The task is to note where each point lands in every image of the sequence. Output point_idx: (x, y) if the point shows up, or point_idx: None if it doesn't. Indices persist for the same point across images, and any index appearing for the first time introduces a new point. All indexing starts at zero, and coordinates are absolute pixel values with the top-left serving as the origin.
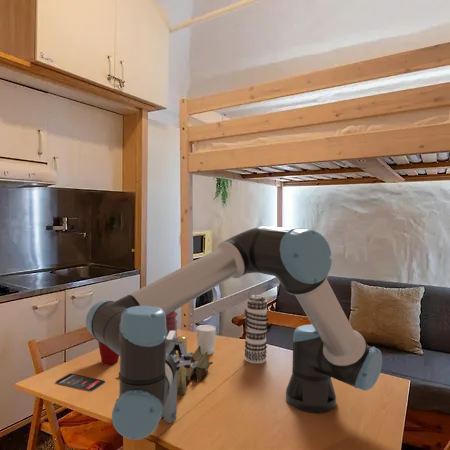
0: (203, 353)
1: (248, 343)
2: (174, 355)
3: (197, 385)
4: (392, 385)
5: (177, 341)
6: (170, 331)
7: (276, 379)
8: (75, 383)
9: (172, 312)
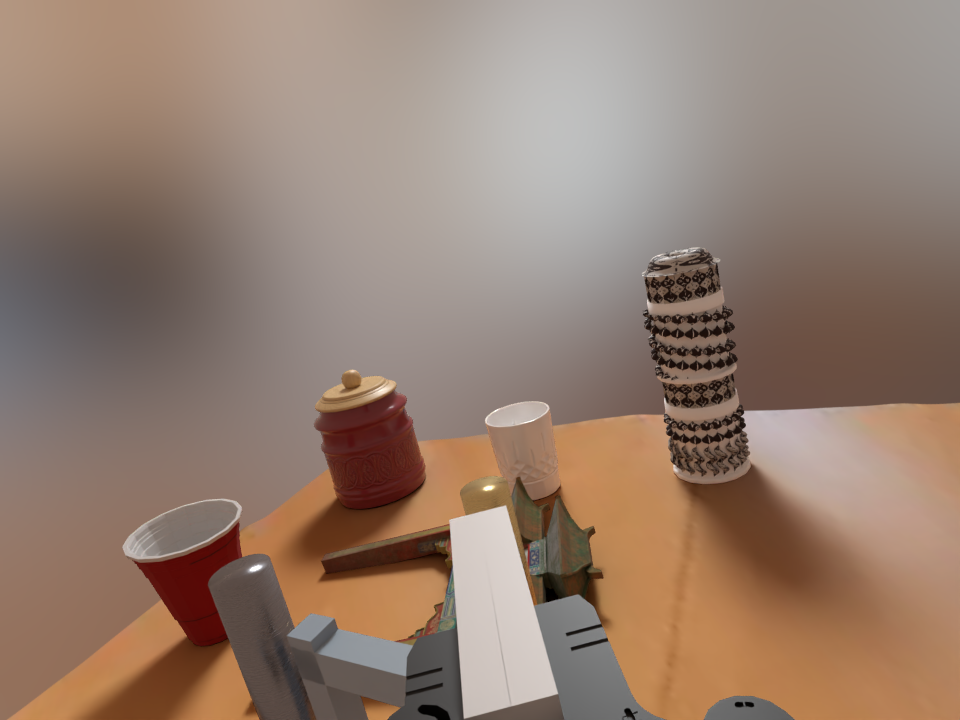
0: (532, 496)
1: (684, 423)
2: None
3: None
4: None
5: (612, 659)
6: (459, 531)
7: (864, 524)
8: None
9: (389, 397)
